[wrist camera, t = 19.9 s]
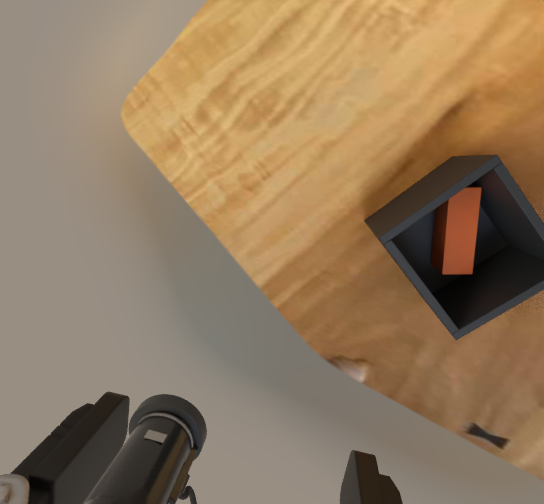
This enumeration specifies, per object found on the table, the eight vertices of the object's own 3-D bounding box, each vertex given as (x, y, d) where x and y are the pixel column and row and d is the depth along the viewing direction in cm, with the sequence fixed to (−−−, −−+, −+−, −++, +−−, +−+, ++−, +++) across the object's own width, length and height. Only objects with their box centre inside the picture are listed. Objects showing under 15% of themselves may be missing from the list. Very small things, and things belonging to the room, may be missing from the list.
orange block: (472, 274, 36) (481, 187, 34) (442, 274, 37) (449, 187, 35) (457, 263, 40) (465, 184, 38) (430, 263, 41) (436, 185, 39)
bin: (514, 245, 40) (576, 270, 30) (425, 301, 43) (456, 340, 33) (452, 156, 38) (497, 154, 29) (364, 220, 41) (378, 238, 32)
